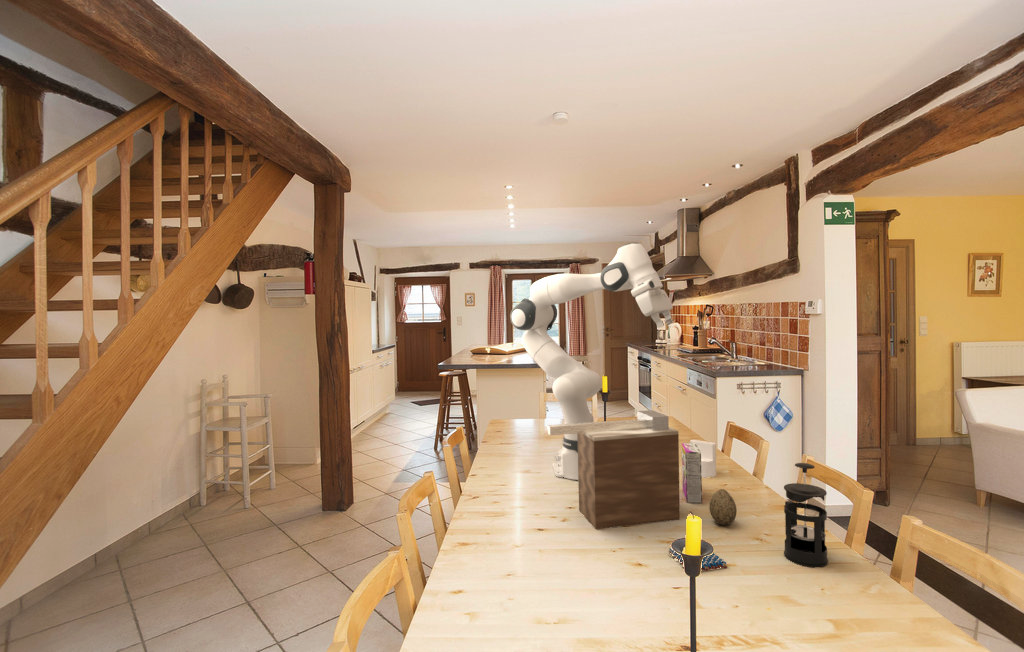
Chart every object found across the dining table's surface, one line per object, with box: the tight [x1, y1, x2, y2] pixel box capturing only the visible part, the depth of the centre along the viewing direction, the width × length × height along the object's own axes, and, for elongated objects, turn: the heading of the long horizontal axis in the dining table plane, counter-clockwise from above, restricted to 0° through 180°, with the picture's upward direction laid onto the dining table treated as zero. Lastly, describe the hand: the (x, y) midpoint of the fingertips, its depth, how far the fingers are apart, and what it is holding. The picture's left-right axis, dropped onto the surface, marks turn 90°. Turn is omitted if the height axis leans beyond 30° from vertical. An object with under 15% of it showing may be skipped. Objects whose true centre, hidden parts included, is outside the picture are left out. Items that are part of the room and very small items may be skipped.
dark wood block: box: [577, 426, 681, 530], centre depth 151 cm, size 14×26×26 cm, turn 102°
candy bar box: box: [680, 442, 703, 504], centre depth 164 cm, size 11×5×16 cm, turn 168°
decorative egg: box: [709, 488, 738, 526], centre depth 143 cm, size 7×7×10 cm
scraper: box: [547, 409, 670, 436], centre depth 149 cm, size 10×35×4 cm, turn 102°
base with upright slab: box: [689, 439, 717, 479], centre depth 187 cm, size 9×9×12 cm
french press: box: [783, 462, 829, 569], centre depth 123 cm, size 12×9×23 cm
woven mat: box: [668, 548, 728, 572], centre depth 123 cm, size 10×11×2 cm
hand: (666, 325), depth 164 cm, fingers open, 8 cm apart
